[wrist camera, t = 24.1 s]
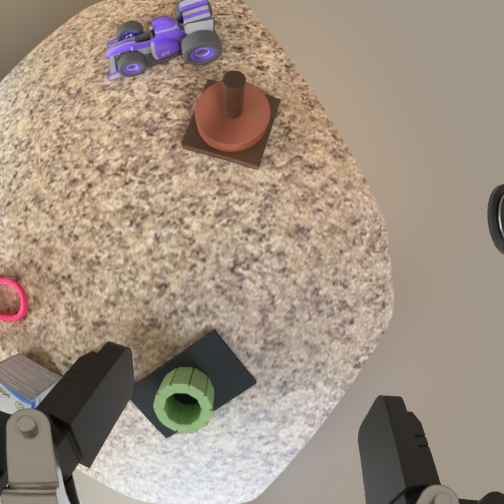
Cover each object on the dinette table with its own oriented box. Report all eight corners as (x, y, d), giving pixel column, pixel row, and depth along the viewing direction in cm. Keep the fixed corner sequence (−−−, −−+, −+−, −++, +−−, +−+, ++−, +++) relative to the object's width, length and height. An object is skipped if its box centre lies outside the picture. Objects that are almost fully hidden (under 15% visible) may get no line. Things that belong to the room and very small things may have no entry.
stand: (278, 104, 35) (296, 57, 25) (257, 170, 35) (270, 137, 25) (208, 85, 35) (204, 34, 24) (182, 148, 34) (167, 109, 24)
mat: (214, 329, 34) (214, 330, 34) (256, 381, 35) (256, 383, 34) (125, 390, 34) (123, 392, 33) (167, 436, 34) (166, 438, 33)
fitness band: (27, 277, 33) (21, 277, 31) (31, 321, 33) (25, 323, 31) (-12, 276, 32) (-18, 277, 30) (-8, 317, 32) (-14, 319, 30)
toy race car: (108, 40, 33) (94, 13, 27) (210, 14, 35) (208, -16, 28) (109, 90, 34) (92, 64, 27) (222, 61, 35) (222, 31, 28)
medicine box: (18, 377, 32) (-17, 397, 24) (20, 350, 32) (-17, 368, 24) (61, 402, 33) (31, 430, 24) (64, 376, 33) (31, 401, 24)
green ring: (219, 374, 34) (218, 392, 29) (206, 417, 34) (203, 439, 29) (168, 359, 33) (160, 375, 28) (158, 403, 33) (149, 423, 28)
